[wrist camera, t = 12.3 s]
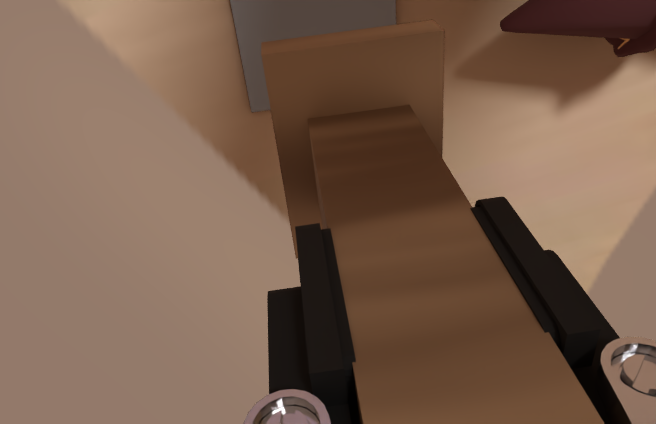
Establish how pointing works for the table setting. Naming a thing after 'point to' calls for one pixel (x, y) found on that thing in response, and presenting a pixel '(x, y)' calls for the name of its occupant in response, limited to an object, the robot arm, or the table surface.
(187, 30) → the table surface
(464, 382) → the wooden post with base
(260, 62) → the mat
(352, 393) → the robot arm
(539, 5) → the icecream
